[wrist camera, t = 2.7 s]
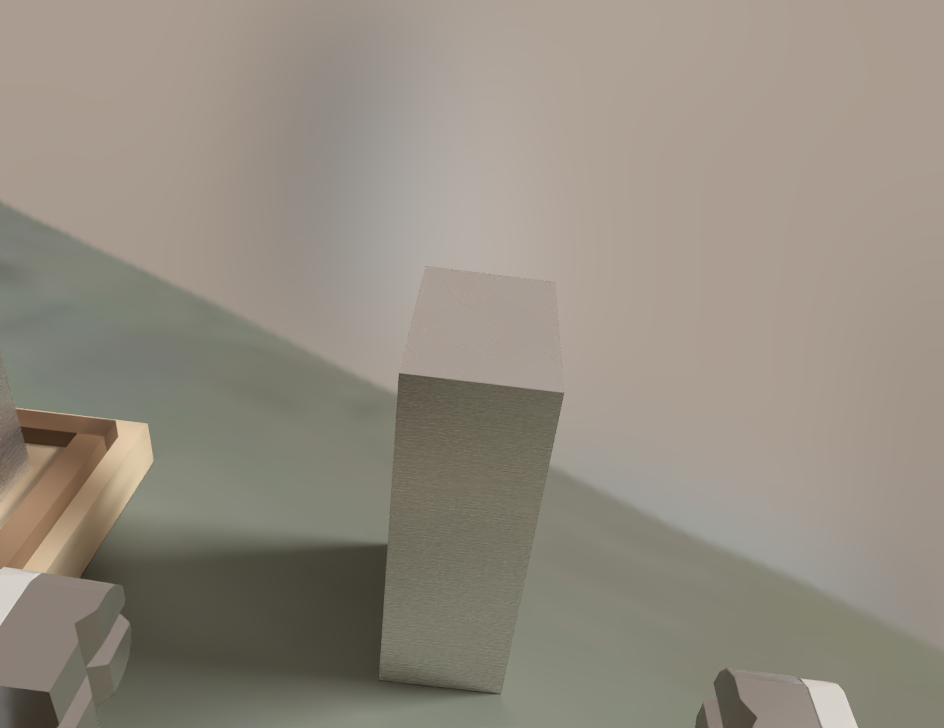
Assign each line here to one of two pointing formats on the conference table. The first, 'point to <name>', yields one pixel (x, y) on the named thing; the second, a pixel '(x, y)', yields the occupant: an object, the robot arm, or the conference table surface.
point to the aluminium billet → (468, 474)
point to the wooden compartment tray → (70, 489)
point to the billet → (10, 440)
